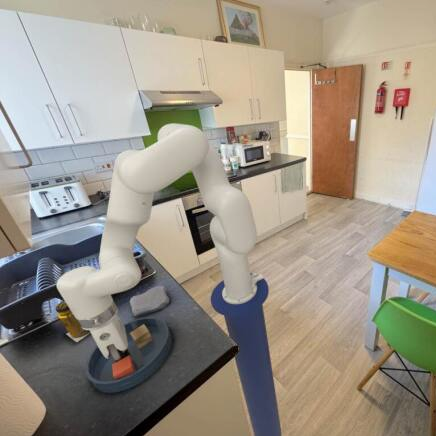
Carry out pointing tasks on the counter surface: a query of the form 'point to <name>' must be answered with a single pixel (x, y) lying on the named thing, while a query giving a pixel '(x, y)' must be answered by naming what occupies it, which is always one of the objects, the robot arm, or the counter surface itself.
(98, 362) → the bowl
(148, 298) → the stone block
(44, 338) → the counter surface
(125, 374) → the coral block
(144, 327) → the maple block
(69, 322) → the condiment
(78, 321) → the robot arm
